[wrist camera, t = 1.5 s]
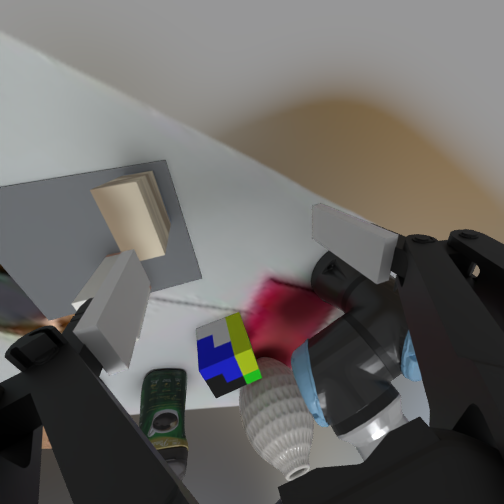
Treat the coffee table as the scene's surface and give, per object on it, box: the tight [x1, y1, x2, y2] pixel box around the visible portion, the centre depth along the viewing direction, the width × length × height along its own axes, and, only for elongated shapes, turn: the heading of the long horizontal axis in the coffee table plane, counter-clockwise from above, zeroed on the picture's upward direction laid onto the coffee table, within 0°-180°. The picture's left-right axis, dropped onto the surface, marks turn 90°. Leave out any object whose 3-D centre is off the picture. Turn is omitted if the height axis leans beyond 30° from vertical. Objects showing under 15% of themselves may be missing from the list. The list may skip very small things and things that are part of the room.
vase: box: [239, 357, 314, 481], centre depth 48 cm, size 16×16×22 cm
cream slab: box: [72, 252, 151, 341], centre depth 30 cm, size 4×8×12 cm, turn 8°
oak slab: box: [90, 170, 171, 261], centre depth 26 cm, size 4×8×12 cm, turn 8°
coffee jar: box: [139, 370, 188, 481], centre depth 41 cm, size 10×8×19 cm
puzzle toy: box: [196, 312, 262, 398], centre depth 44 cm, size 10×10×10 cm
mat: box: [0, 160, 202, 320], centre depth 32 cm, size 26×21×1 cm
